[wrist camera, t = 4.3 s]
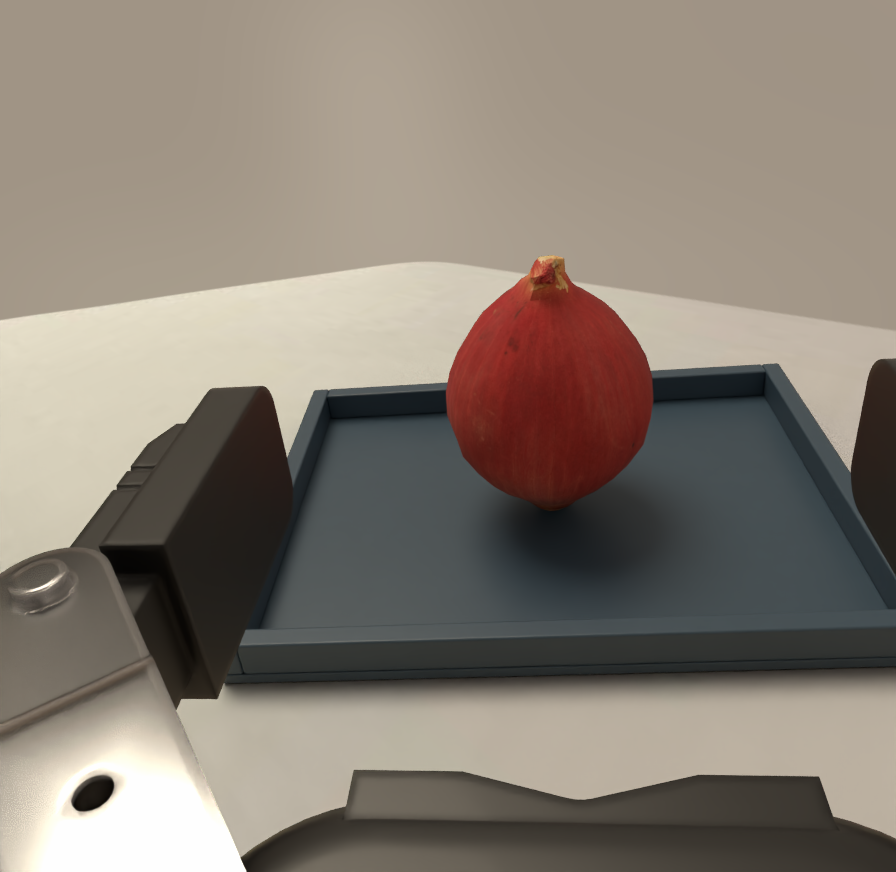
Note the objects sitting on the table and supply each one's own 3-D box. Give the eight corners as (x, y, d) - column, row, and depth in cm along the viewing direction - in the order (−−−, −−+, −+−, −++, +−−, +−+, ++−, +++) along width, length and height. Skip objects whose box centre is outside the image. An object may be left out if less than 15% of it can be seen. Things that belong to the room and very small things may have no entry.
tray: (223, 684, 20) (210, 647, 20) (319, 419, 32) (313, 389, 31) (940, 665, 19) (952, 624, 18) (774, 394, 30) (778, 362, 29)
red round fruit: (424, 494, 26) (392, 253, 22) (566, 434, 28) (562, 207, 24) (530, 593, 22) (516, 317, 18) (688, 513, 24) (708, 252, 20)
